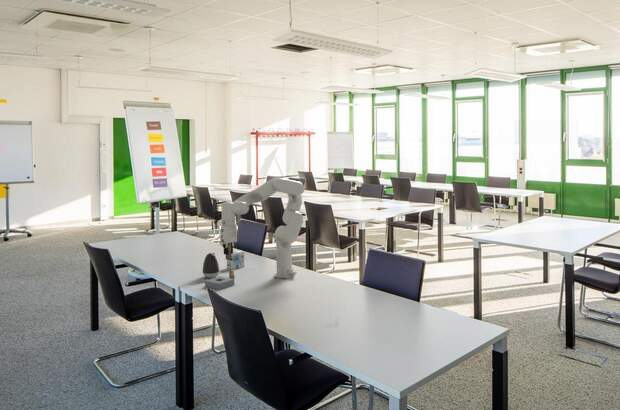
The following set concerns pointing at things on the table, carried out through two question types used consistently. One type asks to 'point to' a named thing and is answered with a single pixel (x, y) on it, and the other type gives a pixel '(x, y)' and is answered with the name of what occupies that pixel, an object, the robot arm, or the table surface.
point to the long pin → (229, 252)
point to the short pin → (231, 274)
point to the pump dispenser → (210, 266)
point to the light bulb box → (236, 260)
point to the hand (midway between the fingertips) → (228, 253)
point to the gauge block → (219, 283)
